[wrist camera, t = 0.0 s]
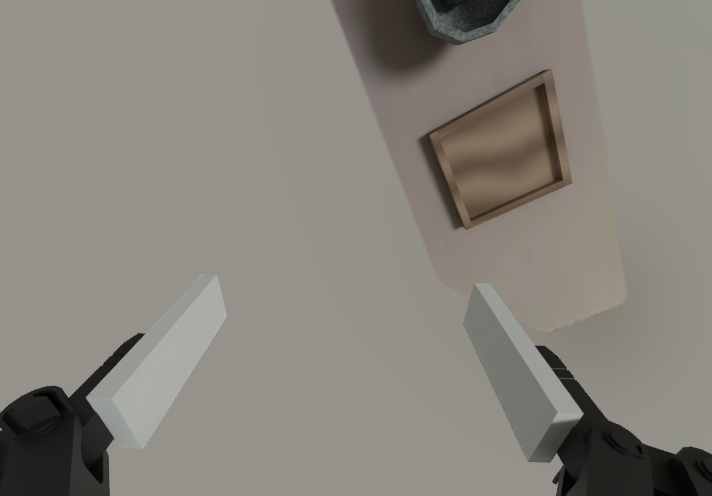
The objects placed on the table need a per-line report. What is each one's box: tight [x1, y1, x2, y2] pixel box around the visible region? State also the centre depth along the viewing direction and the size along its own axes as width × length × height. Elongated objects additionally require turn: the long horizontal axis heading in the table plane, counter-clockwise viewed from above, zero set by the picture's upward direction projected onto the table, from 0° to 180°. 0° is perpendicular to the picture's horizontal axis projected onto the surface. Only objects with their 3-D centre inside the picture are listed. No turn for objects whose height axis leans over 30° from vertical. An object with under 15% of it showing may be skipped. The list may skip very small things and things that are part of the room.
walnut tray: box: [427, 69, 572, 230], centre depth 37 cm, size 15×15×2 cm
